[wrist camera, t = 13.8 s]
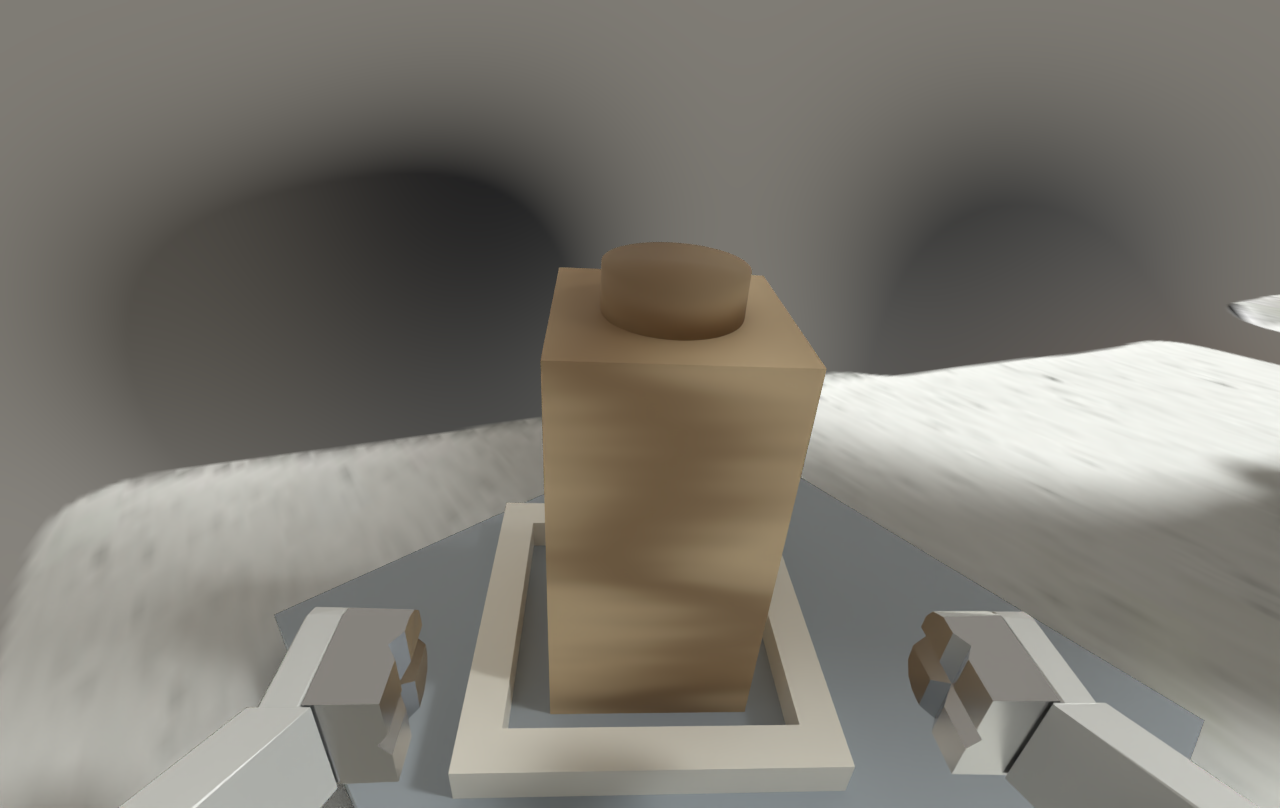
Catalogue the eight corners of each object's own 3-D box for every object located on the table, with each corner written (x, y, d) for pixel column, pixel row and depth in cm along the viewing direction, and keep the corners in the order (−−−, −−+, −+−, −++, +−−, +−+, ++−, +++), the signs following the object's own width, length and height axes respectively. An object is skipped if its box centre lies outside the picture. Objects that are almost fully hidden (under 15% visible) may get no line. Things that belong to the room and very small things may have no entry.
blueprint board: (703, 447, 29) (706, 421, 28) (1176, 752, 17) (1204, 720, 16) (286, 649, 18) (274, 614, 18) (774, 1793, 7) (800, 1838, 6)
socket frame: (760, 527, 22) (765, 506, 22) (844, 790, 14) (855, 766, 14) (507, 524, 21) (506, 502, 21) (452, 798, 14) (448, 773, 13)
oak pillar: (714, 568, 20) (770, 234, 15) (744, 711, 16) (839, 315, 10) (562, 568, 20) (559, 225, 14) (550, 714, 15) (539, 305, 10)
